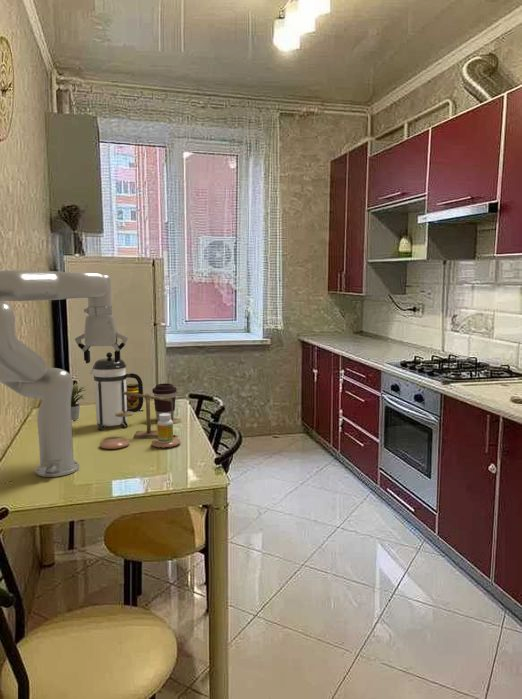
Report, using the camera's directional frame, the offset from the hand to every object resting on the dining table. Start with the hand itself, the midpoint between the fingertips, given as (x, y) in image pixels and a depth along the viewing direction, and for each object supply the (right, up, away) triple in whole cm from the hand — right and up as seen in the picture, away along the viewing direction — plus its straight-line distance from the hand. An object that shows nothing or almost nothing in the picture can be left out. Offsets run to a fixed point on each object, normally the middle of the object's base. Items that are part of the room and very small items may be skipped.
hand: (102, 362), depth 178 cm
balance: (+11, -28, +20) cm, 36 cm away
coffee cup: (+13, -25, +44) cm, 52 cm away
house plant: (-26, -26, +44) cm, 57 cm away
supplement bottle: (+20, -28, +8) cm, 35 cm away
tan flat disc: (+20, -29, +8) cm, 37 cm away
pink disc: (+2, -30, +8) cm, 31 cm away
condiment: (-5, -23, +62) cm, 66 cm away
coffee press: (-5, -27, +35) cm, 44 cm away
